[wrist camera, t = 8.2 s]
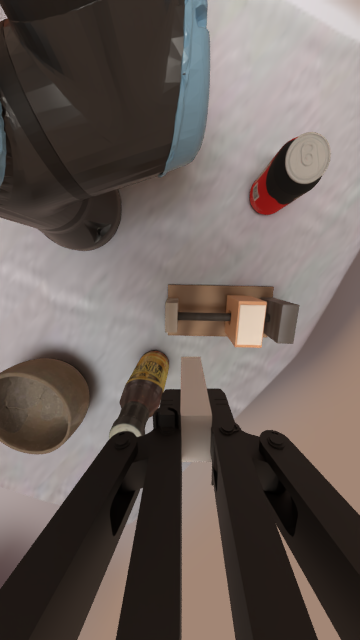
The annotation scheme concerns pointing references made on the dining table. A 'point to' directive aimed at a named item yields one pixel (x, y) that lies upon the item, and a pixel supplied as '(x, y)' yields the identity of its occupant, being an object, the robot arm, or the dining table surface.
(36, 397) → the bowl
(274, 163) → the beverage can
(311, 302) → the dining table surface
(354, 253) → the dining table surface
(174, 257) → the dining table surface
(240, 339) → the sleeve
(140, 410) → the sauce bottle
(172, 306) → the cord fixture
